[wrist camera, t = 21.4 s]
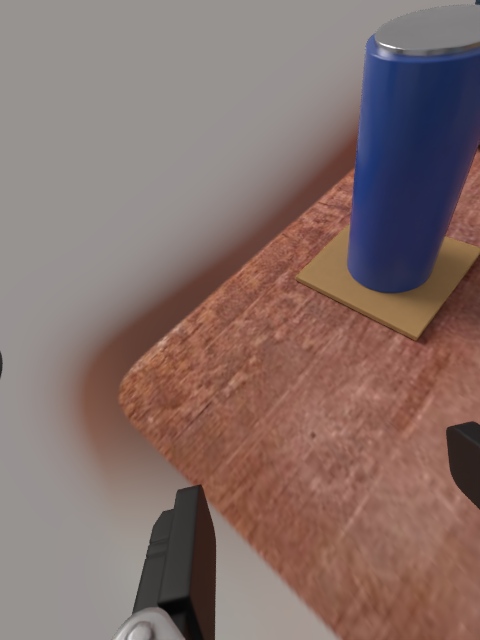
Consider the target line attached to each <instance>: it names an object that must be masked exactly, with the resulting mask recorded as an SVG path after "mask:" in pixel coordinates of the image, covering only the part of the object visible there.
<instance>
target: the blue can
mask: <svg viewBox="0 0 480 640" xmlns="http://www.w3.org/2000/svg"><path fill="white" fill-rule="evenodd" d="M479 143H480V5H453V6H443V7H435V8H430V9H425V10H420V11H417V12H412V13H409V14H406V15H403V16H400V17H397V18H395V19H393V20H391V21H389V22H387V23H385V24H383V25H382V26H381V27H380V28H379V29H378V30H377V31H376V33H375V34H373V35H372V36H371V37H370V38H369V40H368V41H367V44H366V49H365V61H364V73H363V83H362V95H361V106H360V117H359V130H358V140H357V151H356V163H355V174H354V186H353V197H352V208H351V220H350V231H349V242H348V254H347V268H348V270H349V273H350V274H351V276H352V277H353V278H354V279H355V280H356V281H357V282H358V283H360V284H361V285H363V286H364V287H366V288H369V289H371V290H374V291H378V292H384V293H401V292H406V291H410V290H413V289H415V288H417V287H419V286H421V285H422V284H423V283H425V282H426V281H427V280H428V279H429V277H430V276H431V273H432V271H433V268H434V265H435V263H436V260H437V257H438V255H439V252H440V249H441V246H442V244H443V241H444V238H445V236H446V233H447V230H448V227H449V225H450V222H451V219H452V217H453V214H454V211H455V208H456V206H457V203H458V200H459V198H460V195H461V192H462V189H463V187H464V184H465V181H466V179H467V176H468V173H469V170H470V168H471V165H472V162H473V160H474V157H475V154H476V151H477V149H478V146H479Z"/></svg>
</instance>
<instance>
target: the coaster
mask: <svg viewBox="0 0 480 640" xmlns="http://www.w3.org/2000/svg"><path fill="white" fill-rule="evenodd" d="M349 231H350V223H349V224H348V225H347V226H346V227H345V228H344V229H343V230H342V231H341V232H340V233H339V234H338V235H337V236H336V237H335V238H334V239H333V240H332V241H331V242H330V243H329V244H328V245H327V246H326V247H325V248H324V249H323V250H322V251H321V252H320V253H319V254H318V255H317V256H316V257H315V258H314V259H313V260H312V261H311V262H310V263H309V264H308V265H307V266H306V267H305V268H304V269H303V270H302V271H301V272H300V273H299V274H298V275H297V276H296V281H298V282H300V283H302V284H304V285H306V286H308V287H310V288H312V289H314V290H316V291H318V292H320V293H322V294H324V295H326V296H328V297H330V298H332V299H334V300H336V301H338V302H340V303H342V304H344V305H346V306H348V307H350V308H352V309H354V310H356V311H358V312H360V313H362V314H363V315H365V316H367V317H369V318H371V319H373V320H375V321H377V322H379V323H381V324H383V325H385V326H387V327H389V328H391V329H393V330H395V331H397V332H399V333H401V334H403V335H405V336H407V337H409V338H411V339H413V340H415V341H416V340H417V339H418V338H419V336H420V335H421V334H422V332H423V331H424V330H425V328H426V327H427V326H428V324H429V323H430V322H431V320H432V319H433V318H434V316H435V315H436V313H437V312H438V311H439V309H440V308H441V307H442V305H443V304H444V303H445V301H446V300H447V299H448V297H449V296H450V294H451V293H452V292H453V290H454V289H455V288H456V286H457V285H458V284H459V282H460V281H461V280H462V278H463V277H464V275H465V274H466V273H467V271H468V270H469V269H470V267H471V266H472V265H473V263H474V262H475V261H476V259H477V258H478V256H479V255H480V247H477V246H474V245H471V244H468V243H464V242H461V241H458V240H455V239H452V238H449V237H446V236H445V238H444V241H443V244H442V246H441V249H440V252H439V255H438V257H437V260H436V263H435V265H434V268H433V271H432V273H431V276H430V277H429V279H428V280H427V281H426V282H425V283H423V284H422V285H421V286H419V287H417V288H415V289H413V290H410V291H406V292H401V293H384V292H378V291H374V290H371V289H369V288H366V287H364V286H363V285H361V284H360V283H358V282H357V281H356V280H355V279H354V278H353V277H352V276H351V274H350V273H349V270H348V268H347V254H348V242H349Z"/></svg>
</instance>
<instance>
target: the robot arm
mask: <svg viewBox="0 0 480 640" xmlns="http://www.w3.org/2000/svg"><path fill="white" fill-rule="evenodd" d="M446 436H447V446H448V456H449V465H450V471H451V475H452V477H453V479H454V481H455V483H456V485H457V486H458V488H459V489H460V490H461V491H462V492H463V493H464V494H465V495H466V496H467V497H468V498H469V499H470V500H471V501H472V502H473V503H474V504H475V505H476V506H477V507H478V508H479V509H480V425H479V424H478V423H476V422H467V423H463V424H459V425H454V426H450V427H448V428H447V430H446ZM215 587H216V538H215V531H214V526H213V522H212V519H211V515H210V512H209V508H208V504H207V501H206V497H205V494H204V490H203V488H202V486H201V485H196V486H192V487H188V488H184V489H180V490H178V491H177V494H176V499H175V505H174V509H171V510H167V511H163V512H162V514H161V515H160V517H159V518H158V520H157V521H156V523H155V525H154V526H153V529H152V534H151V538H150V545H149V546H148V550H147V554H146V559H145V563H144V567H143V571H142V575H141V580H140V583H139V588H138V591H137V596H136V600H135V604H134V608H133V612H132V615H131V617H129V618H128V619H127V620H126V621H125V622H124V623H123V624H122V625H121V626H120V628H119V629H118V630H117V632H116V633H115V635H114V637H113V639H112V640H215V591H216V590H215V589H216V588H215Z"/></svg>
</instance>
